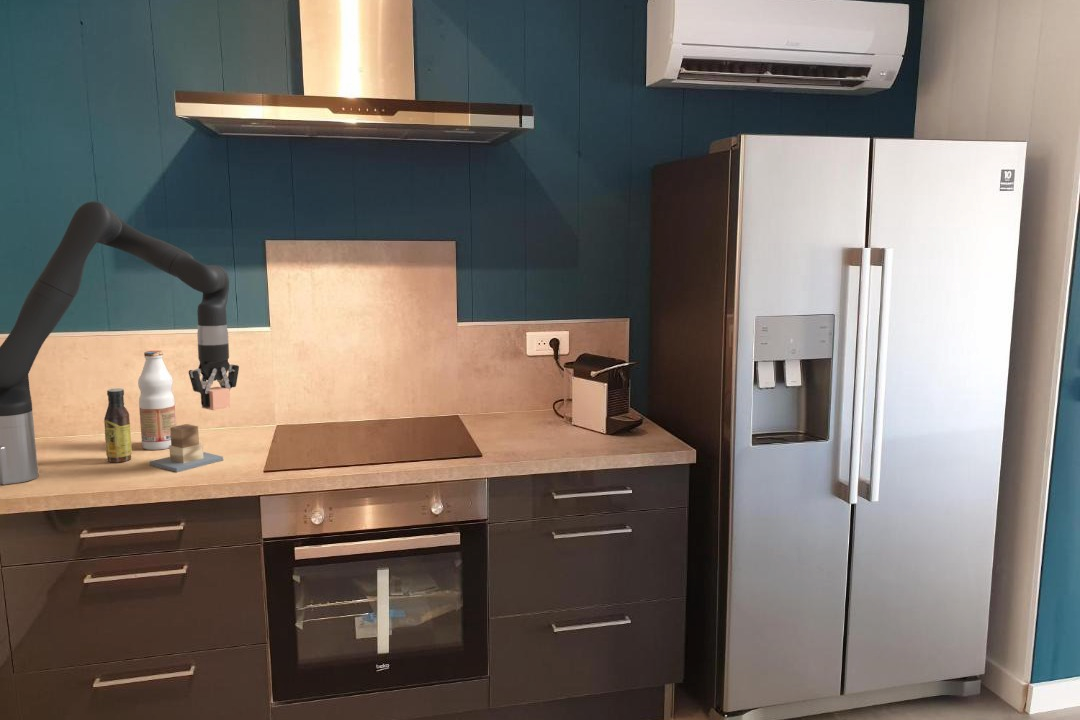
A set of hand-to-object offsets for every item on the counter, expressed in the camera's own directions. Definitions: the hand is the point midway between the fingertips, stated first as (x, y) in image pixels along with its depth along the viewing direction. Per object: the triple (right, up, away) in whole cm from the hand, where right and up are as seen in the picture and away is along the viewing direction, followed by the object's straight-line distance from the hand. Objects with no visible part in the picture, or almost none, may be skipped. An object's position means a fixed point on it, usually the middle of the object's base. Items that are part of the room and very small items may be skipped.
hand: (215, 405), depth 221 cm
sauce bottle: (-29, -16, +8) cm, 34 cm away
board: (-10, -16, +6) cm, 20 cm away
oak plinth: (-10, -16, +6) cm, 20 cm away
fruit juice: (-25, -13, +23) cm, 36 cm away
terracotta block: (0, -1, 0) cm, 1 cm away
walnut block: (-10, -11, +5) cm, 16 cm away
